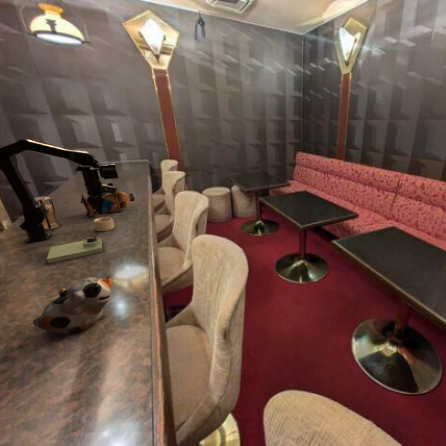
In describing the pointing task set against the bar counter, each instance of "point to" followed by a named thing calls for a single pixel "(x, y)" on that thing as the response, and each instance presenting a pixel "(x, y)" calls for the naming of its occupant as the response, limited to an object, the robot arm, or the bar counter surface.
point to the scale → (74, 250)
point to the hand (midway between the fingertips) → (100, 212)
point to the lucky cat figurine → (76, 306)
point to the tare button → (91, 239)
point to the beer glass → (48, 213)
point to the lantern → (110, 202)
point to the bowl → (104, 223)
